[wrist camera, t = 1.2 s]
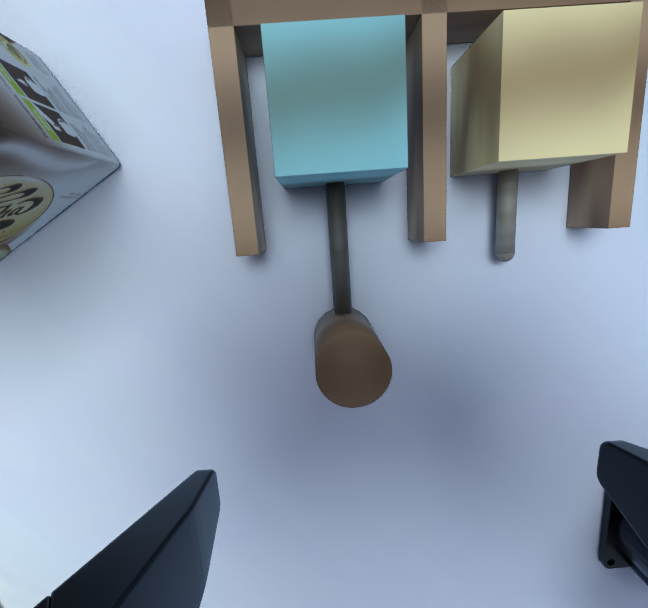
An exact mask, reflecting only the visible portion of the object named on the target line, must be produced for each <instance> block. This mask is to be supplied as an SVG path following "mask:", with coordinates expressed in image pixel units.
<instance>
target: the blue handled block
mask: <svg viewBox="0 0 648 608" xmlns="http://www.w3.org/2000/svg"><path fill="white" fill-rule="evenodd" d="M261 35H262V45H263V55H264V66H265V76H266V86H267V97H268V107H269V117H270V128H271V138H272V148H273V159H274V169H275V177H276V178H277V180H278V181H279V182H280V183H281V185H282V186H283V187H284V189H287V188H301V187H314V186H326V197H327V211H328V226H329V241H330V256H331V270H332V285H333V300H334V309H332V310H330V311H328V312H327V313H325V314H324V315H323V316H322V317H321V318H320V320H319V321H318V323H317V325H316V328H315V333H314V337H315V367H316V380H317V384H318V386H319V388H320V390H321V392H322V393H323V394H324V396H325V397H326V398H328V399H329V400H330V401H332V402H333V403H335V404H337V405H340V406H343V407H350V408H356V407H362V406H366V405H368V404H371V403H372V402H374V401H376V400H377V399H378V398H379V397H381V396H382V395H383V393H384V392H385V391H386V389H387V388H388V386H389V384H390V380H391V376H392V365H391V361H390V358H389V356H388V354H387V352H386V351H385V349H384V347H383V346H382V344H381V342H380V340H379V339H378V337H377V335H376V334H375V332H374V330H373V328H372V327H371V325H370V323H369V322H368V320H367V318H366V317H365V316H364V315H363V314H362V313H360V312H359V311H357V310H355V309H352V308H351V292H350V274H349V257H348V239H347V222H346V204H345V187H344V184H356V183H370V182H383V181H384V180H386V179H388V178H390V177H391V176H393V175H395V174H397V173H399V172H400V171H402V170H404V169H406V168H407V167H408V141H407V91H406V41H405V15H392V16H376V17H360V18H344V19H328V20H313V21H297V22H281V23H265V24H261Z"/></svg>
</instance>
